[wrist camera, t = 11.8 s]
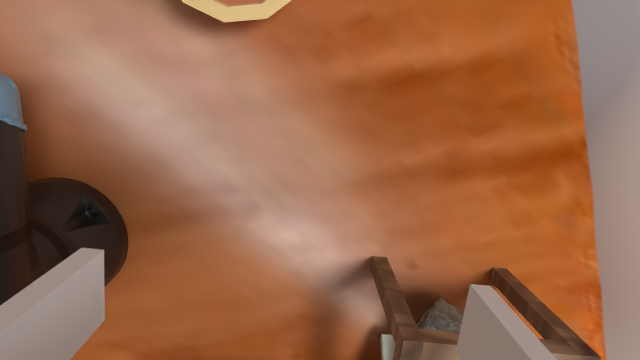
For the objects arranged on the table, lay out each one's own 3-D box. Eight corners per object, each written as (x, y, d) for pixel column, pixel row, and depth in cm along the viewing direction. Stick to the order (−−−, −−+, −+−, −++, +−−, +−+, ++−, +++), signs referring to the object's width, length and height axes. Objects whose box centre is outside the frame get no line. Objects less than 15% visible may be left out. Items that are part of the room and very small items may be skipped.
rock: (472, 430, 45) (494, 418, 40) (394, 415, 45) (405, 402, 40) (464, 313, 53) (481, 292, 48) (398, 302, 54) (408, 280, 49)
